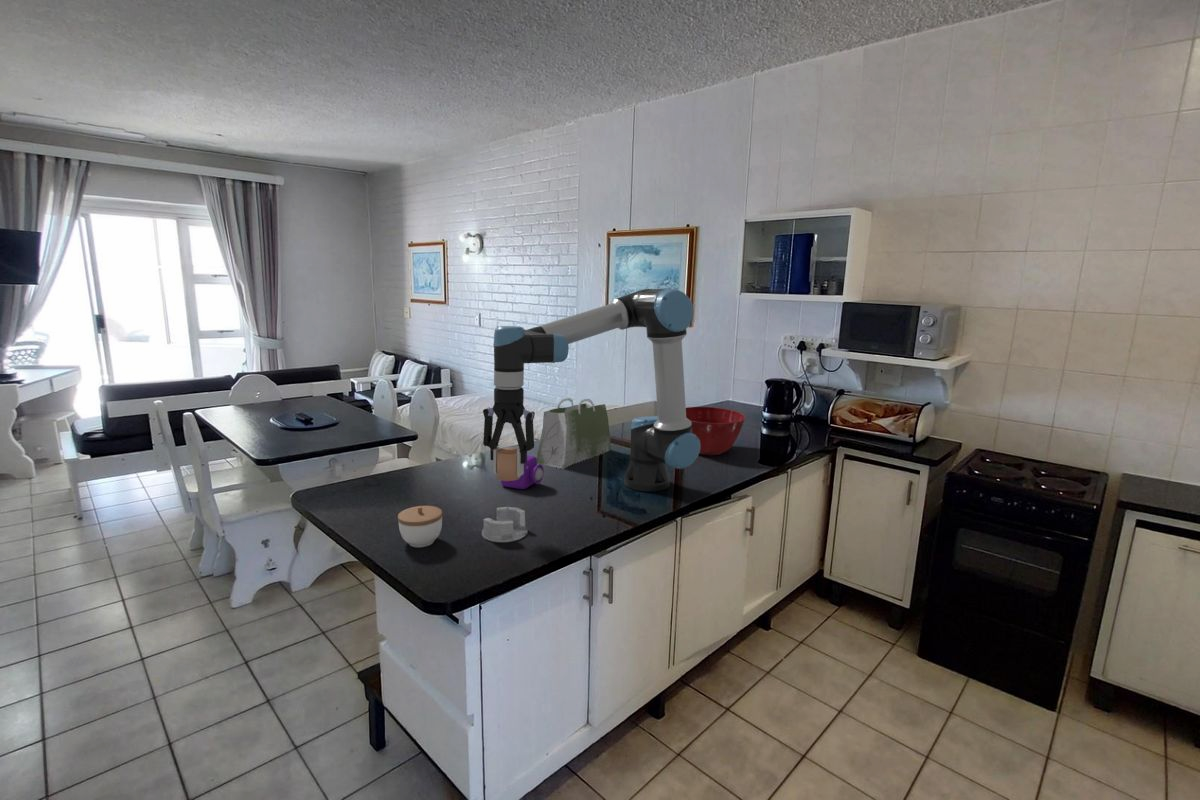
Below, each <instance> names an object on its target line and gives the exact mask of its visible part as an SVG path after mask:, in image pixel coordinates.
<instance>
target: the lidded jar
mask: <svg viewBox="0 0 1200 800" xmlns="http://www.w3.org/2000/svg"><path fill="white" fill-rule="evenodd" d="M397 520H398V528H399V532H400V536H401V538H402V539H403V540H404V541H405V543H407V544H408V545H409V546H410V547H413V548H424V547H428V546H430V545H432V544H433V543H434V542H435V540H436V539H437V538H439V536H440V534H441V531H442V526H443V510H442V509H441V508H440V507H437V506H434V505H418V506H417V505H416V506H411V507H409V508H406V509H404V510H401V511H400V512H399V513H398V514H397Z"/></svg>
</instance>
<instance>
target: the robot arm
mask: <svg viewBox="0 0 1200 800" xmlns="http://www.w3.org/2000/svg"><path fill="white" fill-rule="evenodd" d="M694 312H695V310H694V306H693V303H692V300H691V298H690V297H689V296H688V295H687V294H686V293H685V292H683V291H682V290H679V289H672V288H644V289H639V290H637V291H634V292H631V293H627V294H625V295H622V296H619V297H616V298H614V299H612V300H611V301H610V304H605V305H603V306H600V307H596V308H592V309H589V310H587V311H583V312H580V313H575V314H573V315H571V316H566V317H564V318H561V319H558V320H554V321H551V322H548V323H545V324H542V325H541V324H540V325H539V326H538V325H537V326H535V327H532V328H529V329H525V328H524V327H522V326H515V325H501V326H497V327H496V328H495V329H494V335H493V343H492V344H493V386H494V389H493V402H494V404H493V405H492V407H486V408H484V409H483V410H482V413H483V418H484V425H483V442H482V444H483V446H485V447H488V448H489V450H490V451H489V455H490V456H489V457H490V460H491V461H493V466H492V469H493V475H494V474H495V475H497V451H498V450H500V449H501V447H499V442H500V439H501V436H502V432H503V429H504V426H505V425H506V423H507V424H510V425H511V427H512V428H513V431H514V434H515V438H516V442H517V445H518V448H519V449H518V450H520V451H518V452H517V477H520V476H521V475H523V474H524V464H525V463H526V462H527V455H528V452H529V451H531V450H532V449H534V448H535V435H534V432H535V431H534V418H535V415H536V413H535V412H534V410H533V411H530V410H527V409H526V407H525V406H524V399H525V398H524V395H525V394H524V390H525V389H524V388H523V386H524V385H525V383H524V381H525V380H524V378H525V377H524V374H525V373H524V372H525V371H524V370H525V364H549V363H550V364H556V363H563V362H564V361H566V360H567V358H568V356H569V345H570V344H573V343H576V342H579V341H582V340H586V339H589V338H591V337H594V336H598V335H600V334H603V333H607V332H609V331H613V330H615V329H619V330H625V329H630V328H645V329H646V337H647V339H648V340H649V341H651V343H652V350H653V366H654V380H655V392H656V396H655V397H656V409H657V410H656V411H657V415H650V416H639V417H635V418H633V419H632V421H631V426H630V457H629V458H630V461H629V464H628V466H627V469H626V471H625V473H624V474H625V475H624V481H623V482H624V486H626V487H627V488H629V489H631V490H635V491H638V492H639V491H640V492H661V491H663V490H666V489H668V488H669V487H670V480H671V478H670V475H669V472H668V469H667V467H671V468H674V469H677V470H683V469H686V468H688V467H690V466H691V465H692V464H694V462H695V461H696V459H698V456H699V455H700V454H699V452H700V440H699V438H698V437H697V436H696V435H695V434H693V433H692V423H691V421H690V420H689V419H688V418H686V408H687V407H686V406H687V405H686V391H685V390H686V389H685V375H684V372H685V371H684V370H685V369H684V359H683V358H684V357H683V339H684V338H686V336H687V329H688V328H689V327H690V326H691V322H692V321H693V318H694ZM494 414H495V416H496V417H497V418H496V421H495V427H494V430H493V424H494V423H493V421H494V420H493V419H494ZM522 416H523V417H524V419H525V423H524V427H525V428H524V429H525V433H524V429H523V426H522V420H521V419H522V418H521V417H522Z"/></svg>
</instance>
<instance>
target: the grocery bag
mask: <svg viewBox="0 0 1200 800" xmlns="http://www.w3.org/2000/svg"><path fill="white" fill-rule="evenodd" d="M566 401H567V402H568V401H569V402H570V403H571V405H569V406H566V407H560V406H561V405H562V403H563V402H566ZM586 402H589V403H590V404H591V405H590V404H588V403H586ZM542 418H543V419H542V430H541V435H540V442H539V446H538V450H537V456H536V459H537V465H539V464H541V465H542V466H548V467H552V468H556V467H557V469H560V468H562V469H561V470H565V469H566V467H567V468H568V466H569V467H570V465H571V466H573V465H575V464H578V463H580V461H581V462H583V461H582V460H584V461H586V460H585V459H587V460H589V459H588V458H590V459H592V458H591V457H593V458H595V457H594V456H596V457H598V455H599V456H601V455H603V454H605V453H607V452H609V451H611V449H612V448H611V434H610V424H609V415H608V412H607V406H606V404H604V403H603V404H596V405H594V402H593V401H592V400H591V399H590V398H586V399H585V398H584V399H581V400H580V401H579V402H578V404H575V405H574V402H573V399H572V398H570V397H568V398H562V399H561V400H560V401H559V402H558V405H557V408H551V409H548V410H545V411H543V417H542ZM600 454H601V455H600ZM577 462H578V463H577ZM574 463H575V464H574ZM572 464H573V465H572ZM564 468H565V469H564Z"/></svg>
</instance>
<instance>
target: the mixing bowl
mask: <svg viewBox="0 0 1200 800" xmlns="http://www.w3.org/2000/svg"><path fill="white" fill-rule="evenodd" d="M686 418H688V419H689V420H690V421H691V423H692V433H693V434H695V435H696V436H697V437H698V438H699V440H700V452H699V455H703V456H704V455H705V456H719V455H723V454H724V453H726V452H727V451H729V450H730V449H731V448H732V447H733V445H734V444H735V442H736V440H737V438H738V436H739V434H740V433H741V431H742V427H743V425H744V422H745V420H746V415H745V414H743V413H742V412H739V411H738V410H737V411H736V410H733V409H727V408H724V407H723V408H721V407H714V406H687V407H686Z"/></svg>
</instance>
